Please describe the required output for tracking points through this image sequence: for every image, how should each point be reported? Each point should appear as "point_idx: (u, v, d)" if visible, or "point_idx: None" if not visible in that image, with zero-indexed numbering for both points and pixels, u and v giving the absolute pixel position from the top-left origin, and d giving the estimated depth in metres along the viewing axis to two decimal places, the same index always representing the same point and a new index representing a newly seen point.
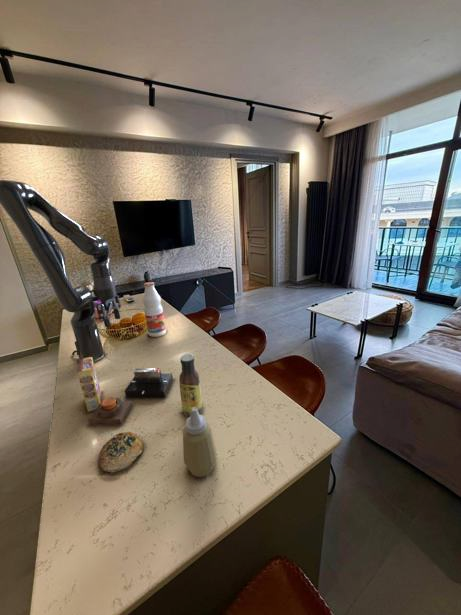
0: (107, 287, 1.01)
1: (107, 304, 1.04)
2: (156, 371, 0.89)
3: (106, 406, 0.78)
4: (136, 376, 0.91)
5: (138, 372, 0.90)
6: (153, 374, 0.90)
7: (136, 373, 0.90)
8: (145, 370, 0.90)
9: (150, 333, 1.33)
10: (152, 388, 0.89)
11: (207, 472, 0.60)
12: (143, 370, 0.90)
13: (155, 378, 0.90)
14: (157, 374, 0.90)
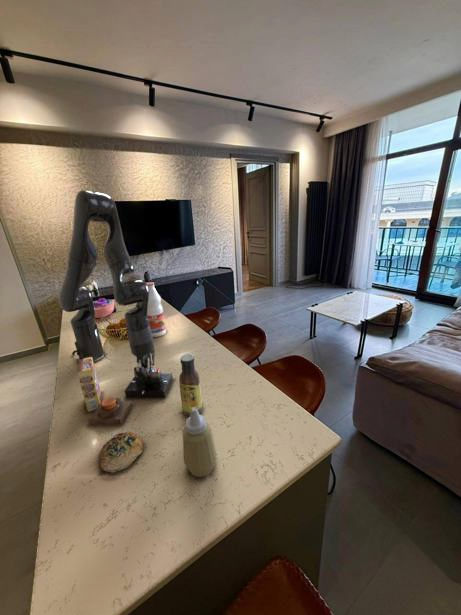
0: (145, 341, 0.83)
1: (144, 363, 0.86)
2: (156, 371, 0.89)
3: (106, 406, 0.78)
4: (136, 376, 0.91)
5: None
6: (153, 374, 0.90)
7: None
8: (145, 370, 0.90)
9: None
10: (152, 388, 0.89)
11: (207, 472, 0.60)
12: None
13: (155, 378, 0.90)
14: (157, 374, 0.90)
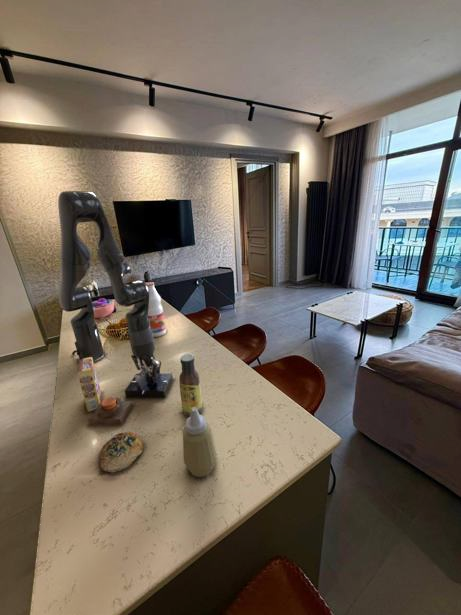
0: (152, 337, 0.87)
1: None
2: None
3: (106, 406, 0.78)
4: (140, 381, 0.88)
5: (142, 376, 0.88)
6: None
7: (140, 377, 0.87)
8: None
9: None
10: (152, 388, 0.89)
11: (207, 472, 0.60)
12: (144, 371, 0.89)
13: None
14: None
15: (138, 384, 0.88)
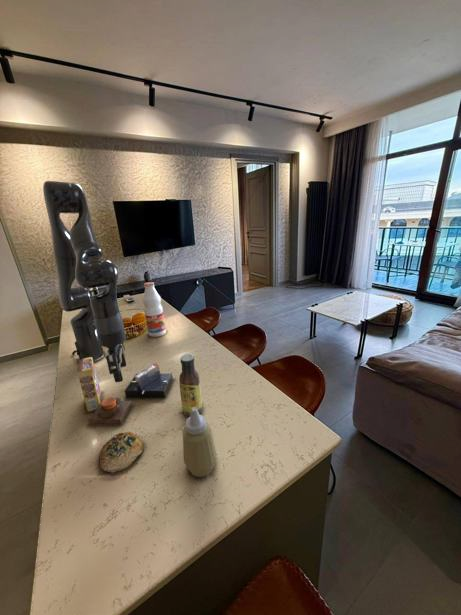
0: (117, 329, 0.74)
1: (117, 351, 0.76)
2: (156, 365, 0.93)
3: (106, 406, 0.78)
4: (140, 381, 0.88)
5: (142, 376, 0.88)
6: (155, 370, 0.92)
7: (140, 377, 0.87)
8: (146, 370, 0.90)
9: (150, 333, 1.33)
10: (152, 388, 0.89)
11: (207, 472, 0.60)
12: (144, 371, 0.89)
13: (156, 373, 0.93)
14: (158, 368, 0.93)
15: (138, 384, 0.88)
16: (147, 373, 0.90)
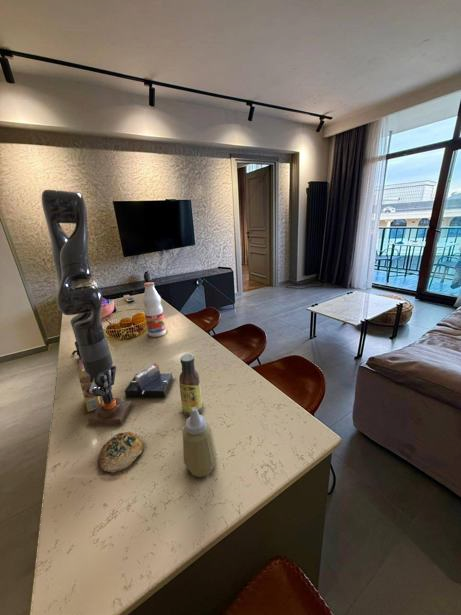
0: (99, 357, 0.71)
1: (100, 382, 0.74)
2: (156, 365, 0.93)
3: (106, 406, 0.78)
4: (140, 381, 0.88)
5: (142, 376, 0.88)
6: (155, 370, 0.92)
7: (140, 377, 0.87)
8: (146, 370, 0.90)
9: (150, 333, 1.33)
10: (152, 388, 0.89)
11: (207, 472, 0.60)
12: (144, 371, 0.89)
13: (156, 373, 0.93)
14: (158, 368, 0.93)
15: (138, 384, 0.88)
16: (147, 373, 0.90)
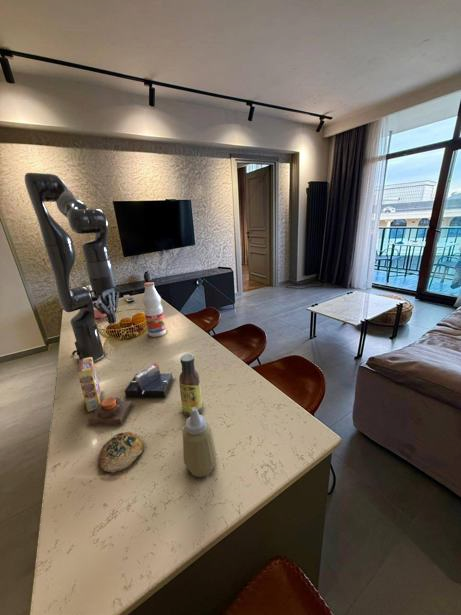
0: (104, 275, 0.80)
1: (105, 300, 0.83)
2: (156, 365, 0.93)
3: (106, 406, 0.78)
4: (140, 381, 0.88)
5: (142, 376, 0.88)
6: (155, 370, 0.92)
7: (140, 377, 0.87)
8: (146, 370, 0.90)
9: (150, 333, 1.33)
10: (152, 388, 0.89)
11: (207, 472, 0.60)
12: (144, 371, 0.89)
13: (156, 373, 0.93)
14: (158, 368, 0.93)
15: (138, 384, 0.88)
16: (147, 373, 0.90)
